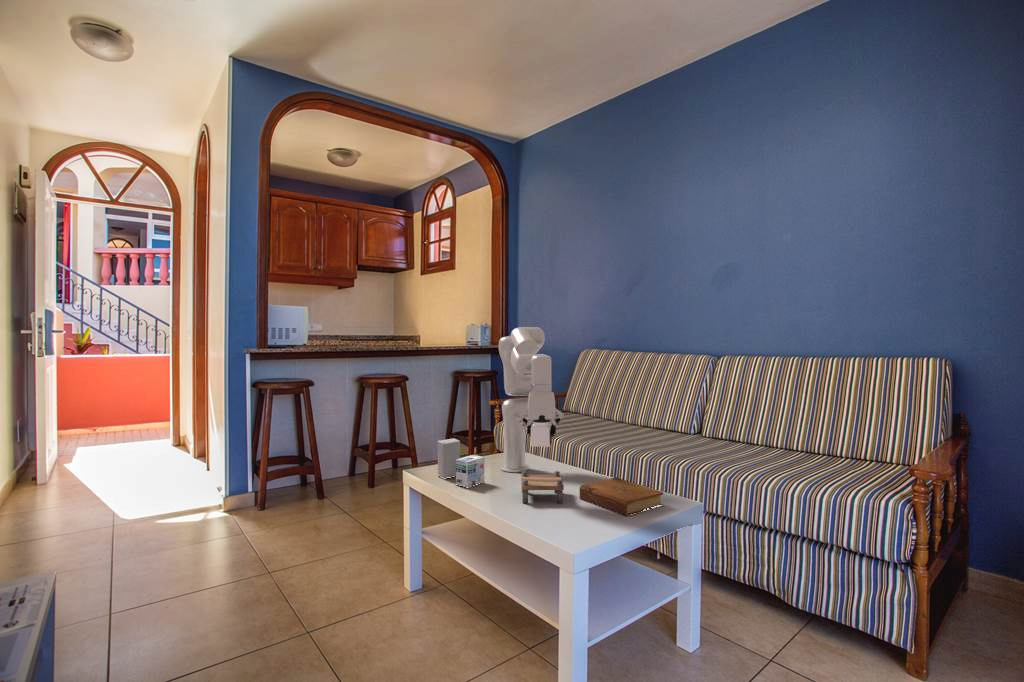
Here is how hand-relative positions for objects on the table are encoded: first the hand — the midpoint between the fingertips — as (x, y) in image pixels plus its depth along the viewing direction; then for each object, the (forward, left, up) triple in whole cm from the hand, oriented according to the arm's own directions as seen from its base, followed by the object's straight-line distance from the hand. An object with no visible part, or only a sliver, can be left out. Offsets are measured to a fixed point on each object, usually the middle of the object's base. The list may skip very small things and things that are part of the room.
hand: (541, 435), depth 195 cm
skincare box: (-29, -38, -23) cm, 53 cm away
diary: (+6, +28, -24) cm, 37 cm away
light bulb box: (-18, -28, -23) cm, 41 cm away
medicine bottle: (0, 0, -4) cm, 4 cm away
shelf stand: (0, 0, -23) cm, 23 cm away
